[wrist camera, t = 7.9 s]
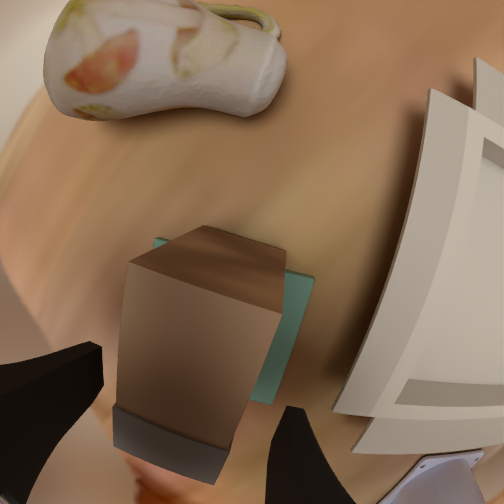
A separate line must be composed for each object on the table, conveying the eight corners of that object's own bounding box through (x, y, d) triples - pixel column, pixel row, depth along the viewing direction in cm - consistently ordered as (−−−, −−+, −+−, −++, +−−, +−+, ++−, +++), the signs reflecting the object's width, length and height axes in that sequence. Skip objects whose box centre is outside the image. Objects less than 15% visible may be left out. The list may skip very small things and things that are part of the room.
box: (287, 251, 14) (285, 317, 7) (241, 384, 16) (213, 485, 9) (201, 224, 14) (123, 261, 7) (171, 360, 16) (113, 446, 9)
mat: (272, 400, 16) (271, 405, 16) (145, 363, 17) (142, 366, 16) (314, 276, 14) (314, 279, 14) (157, 237, 15) (154, 238, 14)
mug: (283, 164, 14) (61, 169, 6) (166, 113, 18) (19, 111, 10) (336, 24, 10) (155, -100, 2) (200, 12, 14) (57, -24, 6)
